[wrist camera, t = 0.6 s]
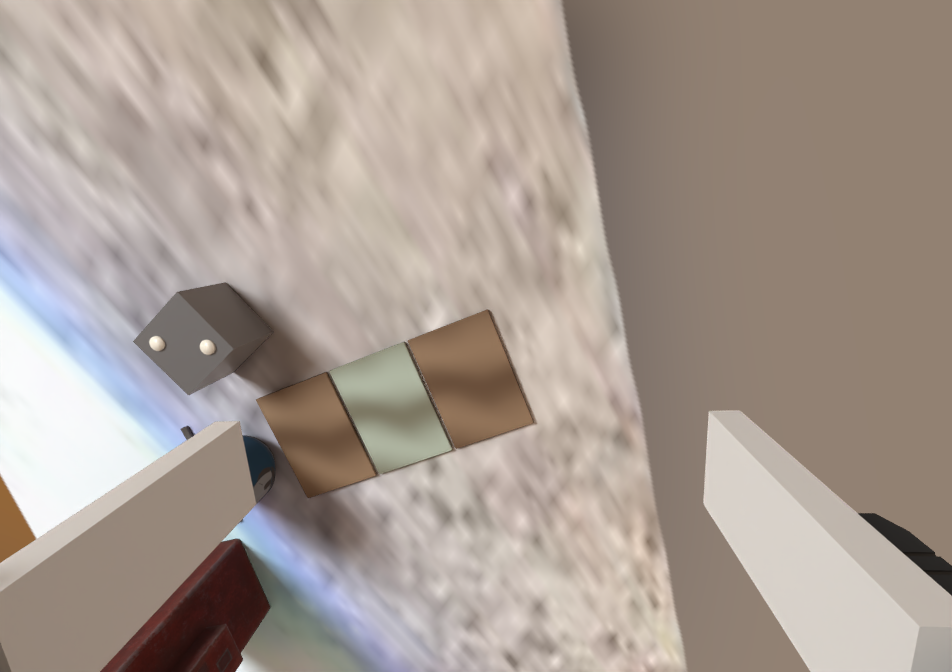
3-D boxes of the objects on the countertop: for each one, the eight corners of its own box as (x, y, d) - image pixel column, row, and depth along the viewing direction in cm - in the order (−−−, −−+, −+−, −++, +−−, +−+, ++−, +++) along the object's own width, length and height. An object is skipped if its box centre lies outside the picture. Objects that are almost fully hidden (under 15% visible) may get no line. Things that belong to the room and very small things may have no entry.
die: (186, 325, 43) (131, 342, 37) (225, 282, 41) (175, 292, 35) (233, 372, 43) (187, 396, 37) (273, 331, 42) (232, 349, 36)
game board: (182, 427, 45) (180, 429, 45) (487, 309, 40) (487, 310, 39) (235, 521, 47) (234, 523, 47) (533, 421, 42) (533, 422, 41)
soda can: (203, 438, 45) (94, 511, 34) (265, 422, 44) (174, 492, 33) (231, 499, 47) (135, 589, 35) (292, 485, 46) (213, 573, 34)
